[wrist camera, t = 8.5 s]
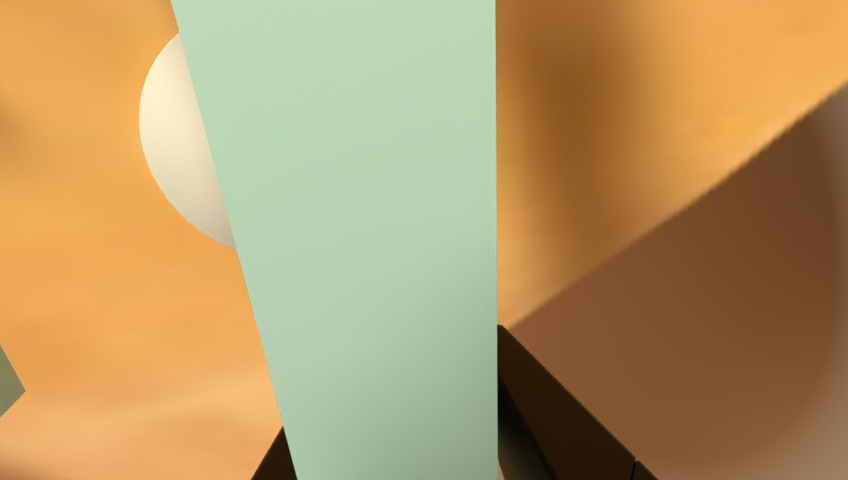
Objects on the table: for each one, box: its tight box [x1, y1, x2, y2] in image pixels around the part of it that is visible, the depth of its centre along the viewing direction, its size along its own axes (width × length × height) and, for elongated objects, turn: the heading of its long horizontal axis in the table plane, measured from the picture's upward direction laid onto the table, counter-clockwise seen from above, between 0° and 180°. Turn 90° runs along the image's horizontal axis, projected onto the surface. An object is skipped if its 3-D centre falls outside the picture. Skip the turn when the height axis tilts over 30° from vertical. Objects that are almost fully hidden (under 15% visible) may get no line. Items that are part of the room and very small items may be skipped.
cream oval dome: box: [139, 33, 237, 251], centre depth 19 cm, size 10×10×1 cm
